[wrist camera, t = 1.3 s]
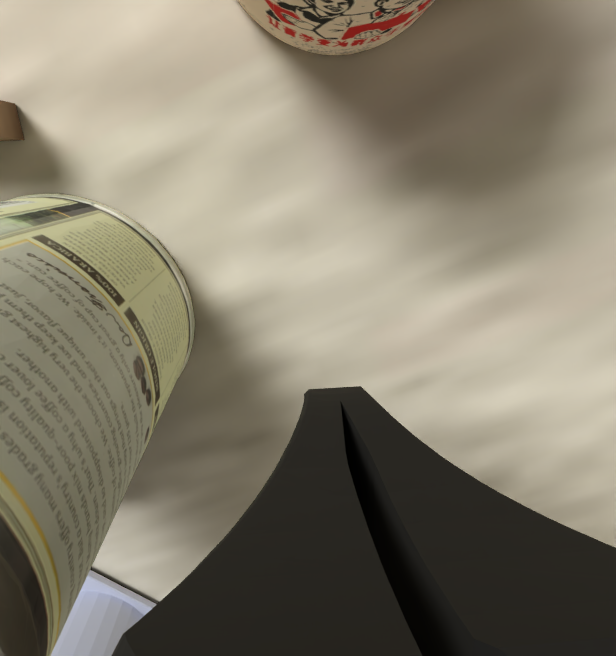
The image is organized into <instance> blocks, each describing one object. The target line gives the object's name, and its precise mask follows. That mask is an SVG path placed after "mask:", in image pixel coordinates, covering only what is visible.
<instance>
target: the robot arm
mask: <svg viewBox="0 0 616 656" xmlns="http://www.w3.org/2000/svg"><path fill="white" fill-rule="evenodd" d="M51 656H616V548H615V547H612V546H610V545H608V544H605V543H603V542H601V541H598V540H596V539H594V538H591V537H589V536H587V535H585V534H582V533H580V532H578V531H575V530H573V529H571V528H569V527H566V526H564V525H562V524H560V523H558V522H556V521H554V520H551V519H549V518H547V517H545V516H543V515H541V514H539V513H537V512H535V511H533V510H531V509H529V508H527V507H525V506H523V505H521V504H520V503H518V502H516V501H514V500H512V499H510V498H508V497H506V496H504V495H503V494H501V493H499V492H497V491H495V490H494V489H492V488H490V487H488V486H487V485H485V484H483V483H482V482H480V481H478V480H477V479H475V478H474V477H472V476H470V475H469V474H467V473H466V472H464V471H463V470H461V469H459V468H458V467H456V466H455V465H453V464H452V463H450V462H449V461H447V460H446V459H444V458H443V457H442V456H440V455H439V454H438V453H436V452H435V451H434V450H432V449H431V448H430V447H428V446H427V445H426V444H424V443H423V442H422V441H420V440H419V439H418V438H417V437H415V436H414V435H413V434H412V433H410V432H409V431H408V430H407V429H406V428H405V427H404V426H402V425H401V424H400V423H399V422H398V421H397V420H396V419H394V418H393V417H392V416H391V415H390V414H389V413H388V412H387V411H386V410H385V409H384V408H383V407H382V406H381V405H380V404H379V403H377V402H376V401H375V400H374V399H373V398H372V397H371V396H370V395H369V394H368V393H367V392H366V391H365V390H364V389H363V388H362V387H361V386H359V387H342V388H326V389H309V390H308V391H307V392H306V393H305V394H304V404H303V408H302V411H301V415H300V418H299V420H298V423H297V425H296V428H295V430H294V433H293V435H292V437H291V440H290V442H289V444H288V446H287V448H286V449H285V451H284V453H283V455H282V457H281V459H280V461H279V463H278V465H277V466H276V468H275V470H274V471H273V473H272V475H271V476H270V478H269V479H268V481H267V483H266V484H265V486H264V487H263V489H262V490H261V491H260V493H259V494H258V496H257V497H256V499H255V500H254V501H253V503H252V504H251V505H250V507H249V508H248V509H247V510H246V512H245V513H244V514H243V516H242V517H241V518H240V520H239V521H238V522H237V523H236V525H235V526H234V527H233V528H232V529H231V531H230V532H229V533H228V534H227V535H226V536H225V537H224V539H223V540H222V541H221V542H220V543H219V544H218V545H217V546H216V547H215V548H214V549H213V550H212V551H211V552H210V553H209V554H208V555H207V557H206V558H205V559H204V560H203V561H202V562H201V563H200V564H199V565H198V566H197V567H196V568H195V569H194V570H193V571H192V572H191V573H190V574H189V575H188V576H187V577H186V578H185V579H184V580H183V581H182V582H181V583H180V584H179V585H178V586H177V587H176V588H175V589H174V590H172V591H171V592H170V593H169V594H168V595H167V596H166V597H165V598H163V599H162V600H161V601H160V602H159V603H158V604H155V603H153V602H151V601H150V600H148V599H146V598H144V597H142V596H140V595H138V594H136V593H134V592H132V591H130V590H128V589H126V588H124V587H123V586H121V585H119V584H117V583H115V582H113V581H111V580H109V579H107V578H105V577H103V576H101V575H99V574H97V573H96V572H94V571H92V570H90V571H89V573H88V575H87V577H86V580H85V582H84V584H83V586H82V588H81V590H80V593H79V595H78V597H77V599H76V601H75V603H74V606H73V608H72V610H71V612H70V614H69V616H68V619H67V621H66V623H65V625H64V627H63V630H62V632H61V634H60V636H59V638H58V640H57V643H56V645H55V647H54V649H53V651H52V653H51Z"/></svg>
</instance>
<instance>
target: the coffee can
mask: <svg viewBox="0 0 616 656" xmlns="http://www.w3.org/2000/svg"><path fill="white" fill-rule="evenodd" d="M194 331H195V318H194V312H193V306H192V301H191V296H190V293H189V290H188V288H187V285H186V283H185V280H184V278H183V276H182V274H181V272H180V271H179V269H178V267H177V265H176V264H175V262H174V261H173V259H172V258H171V256H170V255H169V254H168V253H167V251H166V250H165V249H164V248H163V247H162V246H161V244H160V243H159V242H158V241H157V239H156V238H155V237H154V236H153V235H151V234H150V233H149V232H147V231H146V230H144V229H143V228H142V227H141V226H140V225H139V224H137V223H136V222H135V221H133V220H132V219H130V218H128V217H127V216H125V215H124V214H122V213H120V212H119V211H117V210H115V209H112V208H110V207H108V206H106V205H103V204H101V203H98V202H95V201H92V200H89V199H86V198H82V197H77V196H73V195H64V194H61V193H57V194H33V195H27V196H20V197H16V198H13V199H10V200H6V201H0V656H51V653H52V651H53V649H54V647H55V645H56V643H57V640H58V638H59V636H60V634H61V632H62V630H63V627H64V625H65V623H66V621H67V619H68V616H69V614H70V612H71V610H72V608H73V606H74V603H75V601H76V599H77V597H78V595H79V593H80V590H81V588H82V586H83V584H84V582H85V580H86V577H87V575H88V573H89V571H90V569H91V567H92V564H93V562H94V560H95V558H96V556H97V554H98V551H99V549H100V547H101V545H102V543H103V541H104V538H105V536H106V534H107V532H108V530H109V527H110V525H111V523H112V521H113V519H114V517H115V514H116V512H117V510H118V508H119V506H120V503H121V501H122V499H123V497H124V495H125V493H126V490H127V488H128V486H129V484H130V482H131V479H132V477H133V475H134V473H135V471H136V468H137V466H138V464H139V462H140V460H141V458H142V456H143V454H144V451H145V449H146V447H147V445H148V442H149V440H150V438H151V436H152V433H153V431H154V429H155V426H156V424H157V422H158V420H159V418H160V416H161V414H162V412H163V410H164V407H165V405H166V403H167V400H168V398H169V396H170V394H171V392H172V390H173V387H174V385H175V383H176V381H177V379H178V378H179V376H180V375H181V373H182V371H183V369H184V368H185V365H186V363H187V361H188V359H189V356H190V353H191V349H192V345H193V340H194Z"/></svg>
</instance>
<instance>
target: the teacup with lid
mask: <svg viewBox="0 0 616 656" xmlns="http://www.w3.org/2000/svg"><path fill="white" fill-rule="evenodd" d="M434 1H435V0H238V2H239V3H240V4H241V6H242V7H243V8H244V9H245V11H246V12H247V13H248V14H249V15H250V16H251V17H252V18H253V19H254V20H255V21H256V22H257V23H258V24H259V25H260V26H262V27H263V28H264V29H265V30H266V31H268V32H269V33H271V34H272V35H273V36H275V37H276V38H278V39H280V40H282V41H283V42H285V43H287V44H289V45H291V46H294V47H296V48H298V49H301V50H305V51H308V52H312V53H317V54H324V55H347V54H354V53H358V52H362V51H366V50H369V49H372V48H374V47H377V46H379V45H381V44H383V43H385V42H387V41H389V40H391V39H392V38H394V37H396V36H397V35H399V34H400V33H402V32H403V31H404V30H405V29H407V28H408V27H409V26H410V25H411V24H413V23H414V22H415V21H416V20H417V19H418V18H419V17H420V16H421V15H422V14H423V13H424V12H425V11H426V10H427V8H428V7H429V6H430V5H431V4H432V3H433V2H434Z"/></svg>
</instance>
